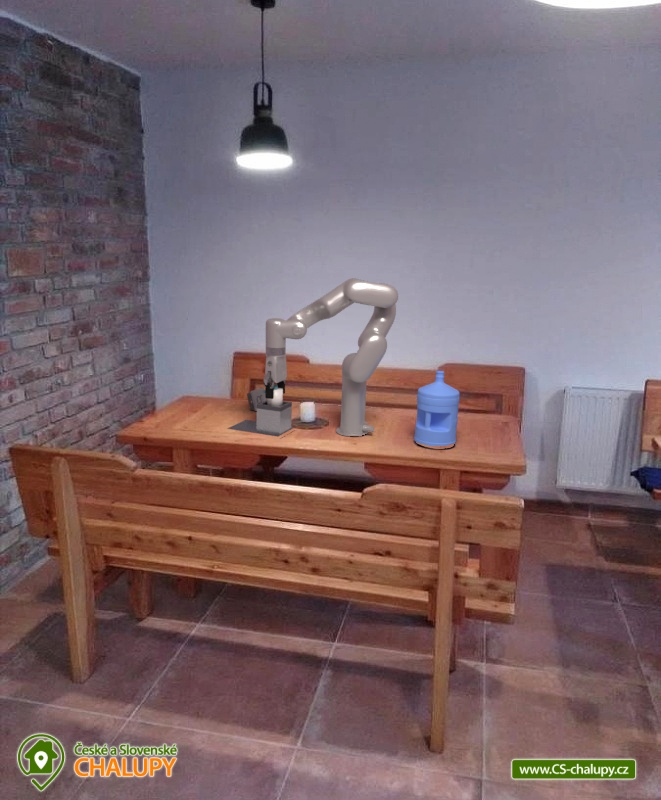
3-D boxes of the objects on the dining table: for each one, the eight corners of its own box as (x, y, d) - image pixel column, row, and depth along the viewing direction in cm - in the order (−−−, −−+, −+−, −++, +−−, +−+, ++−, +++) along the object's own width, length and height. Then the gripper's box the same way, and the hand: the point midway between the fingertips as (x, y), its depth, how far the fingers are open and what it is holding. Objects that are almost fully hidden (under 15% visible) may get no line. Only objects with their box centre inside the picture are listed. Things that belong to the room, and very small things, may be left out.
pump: (285, 406, 252) (285, 384, 250) (278, 409, 246) (278, 387, 245) (267, 404, 254) (267, 382, 253) (260, 407, 249) (260, 385, 247)
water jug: (427, 435, 257) (432, 366, 251) (463, 444, 248) (469, 372, 241) (405, 443, 246) (410, 371, 239) (442, 453, 236) (448, 377, 229)
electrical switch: (256, 412, 283) (254, 391, 281) (246, 411, 285) (245, 390, 284) (268, 408, 291) (267, 387, 289) (258, 407, 293) (257, 387, 292)
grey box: (296, 429, 259) (297, 400, 256) (278, 440, 244) (278, 409, 241) (247, 422, 266) (248, 393, 264) (227, 432, 252) (227, 402, 249)
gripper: (274, 355, 236) (273, 401, 240) (294, 349, 251) (293, 392, 255) (255, 354, 239) (255, 399, 243) (276, 347, 254) (276, 390, 258)
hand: (275, 395), depth 249 cm, fingers open, 9 cm apart
